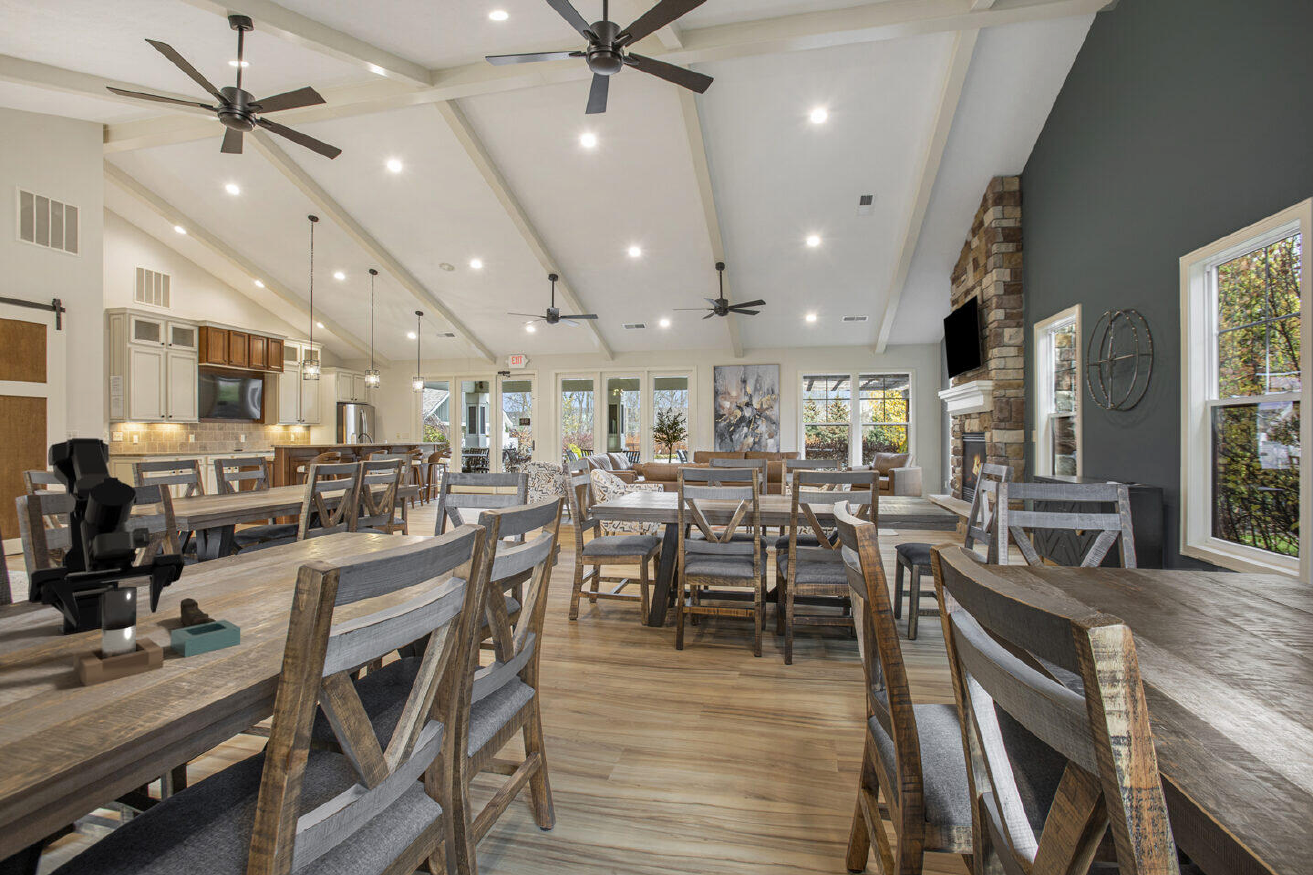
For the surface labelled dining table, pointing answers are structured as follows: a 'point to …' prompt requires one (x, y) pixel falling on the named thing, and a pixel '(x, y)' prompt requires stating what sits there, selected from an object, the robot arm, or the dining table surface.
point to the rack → (117, 663)
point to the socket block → (205, 637)
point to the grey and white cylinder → (119, 621)
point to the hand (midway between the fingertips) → (117, 617)
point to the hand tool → (193, 614)
